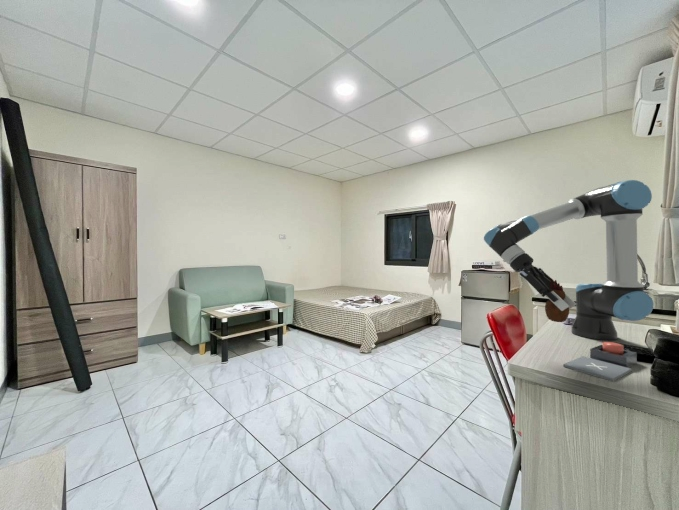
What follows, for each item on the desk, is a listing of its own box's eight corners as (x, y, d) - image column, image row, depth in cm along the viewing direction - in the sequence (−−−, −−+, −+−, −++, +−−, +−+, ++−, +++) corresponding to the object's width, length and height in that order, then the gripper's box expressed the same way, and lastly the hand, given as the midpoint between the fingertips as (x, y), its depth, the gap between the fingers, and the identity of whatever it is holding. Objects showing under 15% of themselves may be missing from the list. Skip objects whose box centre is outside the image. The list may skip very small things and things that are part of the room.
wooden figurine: (541, 318, 101) (541, 277, 101) (557, 318, 101) (557, 277, 101) (555, 323, 94) (555, 279, 94) (572, 323, 94) (572, 279, 94)
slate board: (582, 358, 96) (582, 356, 96) (631, 371, 86) (631, 368, 86) (563, 366, 89) (563, 363, 89) (613, 381, 79) (613, 378, 79)
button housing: (601, 354, 100) (601, 344, 100) (636, 362, 92) (636, 352, 92) (590, 359, 96) (590, 349, 96) (626, 368, 88) (626, 357, 88)
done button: (606, 349, 97) (606, 341, 97) (626, 354, 93) (626, 345, 93) (600, 352, 95) (600, 343, 95) (620, 356, 90) (620, 347, 90)
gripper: (521, 264, 115) (570, 310, 102) (497, 266, 105) (548, 317, 91) (536, 252, 111) (589, 298, 97) (512, 252, 101) (568, 303, 87)
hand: (569, 307), depth 94 cm, fingers closed on wooden figurine, 6 cm apart
